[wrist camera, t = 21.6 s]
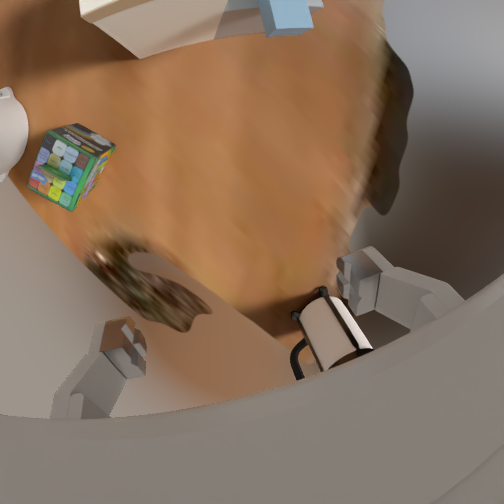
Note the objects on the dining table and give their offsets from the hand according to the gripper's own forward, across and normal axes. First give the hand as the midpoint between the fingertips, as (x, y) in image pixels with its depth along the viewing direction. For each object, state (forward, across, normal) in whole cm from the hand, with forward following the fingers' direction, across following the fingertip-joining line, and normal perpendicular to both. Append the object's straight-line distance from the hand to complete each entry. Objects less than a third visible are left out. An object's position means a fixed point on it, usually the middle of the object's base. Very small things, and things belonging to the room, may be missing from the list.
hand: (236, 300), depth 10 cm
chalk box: (+39, +19, -4) cm, 44 cm away
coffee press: (+38, -17, +46) cm, 62 cm away
